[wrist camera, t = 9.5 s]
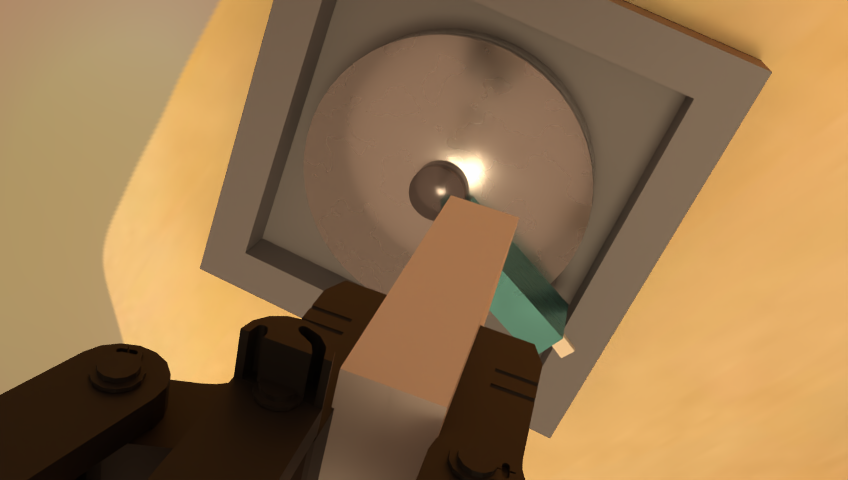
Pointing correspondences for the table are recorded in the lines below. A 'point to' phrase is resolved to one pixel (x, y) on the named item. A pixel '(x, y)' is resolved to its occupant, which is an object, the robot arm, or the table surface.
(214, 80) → the table surface
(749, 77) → the housing
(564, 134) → the dial
